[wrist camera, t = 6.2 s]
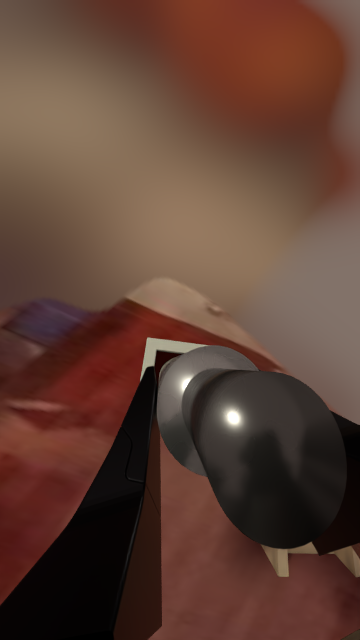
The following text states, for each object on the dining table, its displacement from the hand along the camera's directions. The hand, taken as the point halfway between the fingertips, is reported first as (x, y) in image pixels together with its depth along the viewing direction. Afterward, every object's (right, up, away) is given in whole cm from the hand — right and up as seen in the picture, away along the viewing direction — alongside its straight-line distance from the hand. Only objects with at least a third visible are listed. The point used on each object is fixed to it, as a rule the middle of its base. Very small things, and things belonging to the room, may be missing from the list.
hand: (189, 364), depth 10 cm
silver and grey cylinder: (-1, -3, +7) cm, 8 cm away
